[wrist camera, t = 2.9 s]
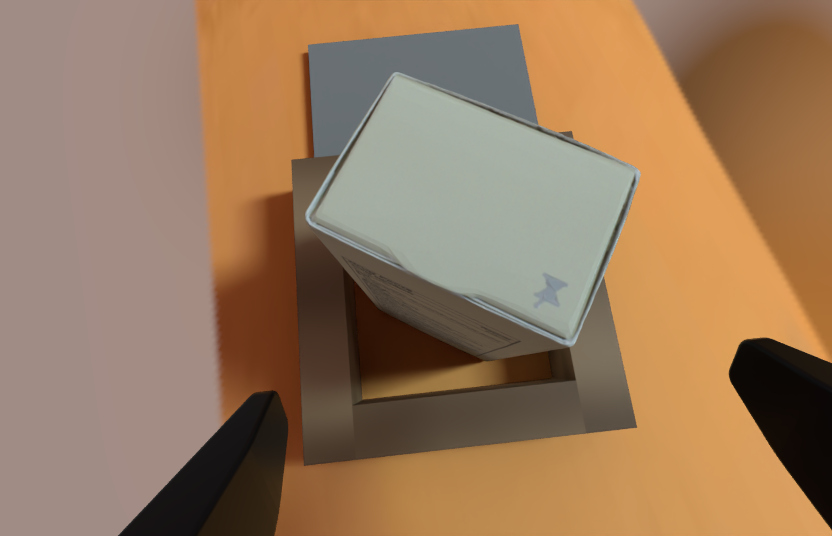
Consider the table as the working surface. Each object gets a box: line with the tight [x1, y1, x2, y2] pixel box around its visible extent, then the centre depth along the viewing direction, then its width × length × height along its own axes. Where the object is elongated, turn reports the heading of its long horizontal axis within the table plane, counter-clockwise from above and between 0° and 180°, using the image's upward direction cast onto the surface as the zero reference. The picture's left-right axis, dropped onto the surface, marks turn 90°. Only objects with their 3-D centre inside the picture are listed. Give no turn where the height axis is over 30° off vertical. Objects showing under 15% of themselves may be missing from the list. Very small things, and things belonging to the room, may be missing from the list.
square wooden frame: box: [292, 131, 637, 466], centre depth 19 cm, size 13×13×3 cm
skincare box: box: [305, 72, 641, 361], centre depth 14 cm, size 6×4×12 cm
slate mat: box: [308, 24, 538, 158], centre depth 23 cm, size 8×12×1 cm, turn 96°
